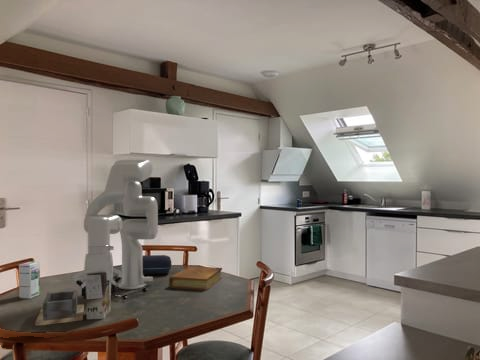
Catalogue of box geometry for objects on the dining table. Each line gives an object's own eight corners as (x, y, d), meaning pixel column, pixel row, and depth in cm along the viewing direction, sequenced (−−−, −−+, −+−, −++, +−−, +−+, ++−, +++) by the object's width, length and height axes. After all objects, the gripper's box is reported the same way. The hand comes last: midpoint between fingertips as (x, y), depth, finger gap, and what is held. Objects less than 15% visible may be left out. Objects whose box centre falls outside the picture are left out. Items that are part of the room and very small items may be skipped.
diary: (188, 277, 198) (188, 266, 198) (222, 279, 193) (222, 267, 193) (169, 288, 176) (169, 276, 176) (207, 291, 171) (206, 278, 171)
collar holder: (84, 307, 148) (83, 288, 149) (82, 320, 134) (82, 299, 135) (41, 312, 143) (41, 293, 143) (35, 326, 129) (35, 304, 129)
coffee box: (104, 319, 135) (104, 274, 136) (86, 319, 135) (86, 274, 135) (111, 310, 145) (111, 268, 145) (93, 311, 144) (93, 268, 144)
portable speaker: (172, 271, 209) (172, 253, 209) (170, 275, 199) (170, 256, 199) (126, 272, 207) (126, 254, 207) (121, 277, 197) (121, 257, 197)
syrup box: (30, 298, 160) (30, 264, 160) (18, 298, 161) (18, 264, 161) (40, 294, 166) (40, 261, 166) (28, 294, 167) (28, 261, 167)
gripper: (122, 247, 146) (122, 291, 146) (73, 250, 140) (73, 296, 140) (123, 250, 139) (123, 296, 139) (72, 253, 133) (72, 302, 133)
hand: (98, 296), depth 140 cm, fingers open, 9 cm apart
